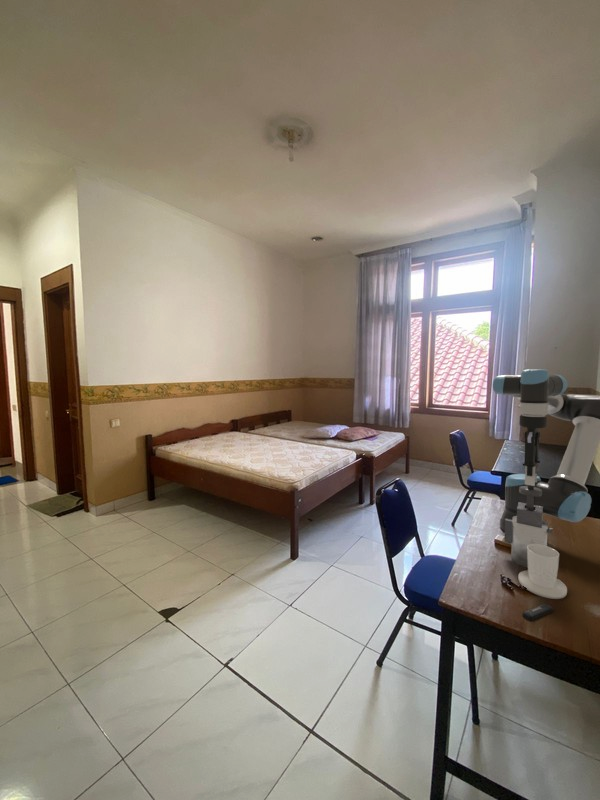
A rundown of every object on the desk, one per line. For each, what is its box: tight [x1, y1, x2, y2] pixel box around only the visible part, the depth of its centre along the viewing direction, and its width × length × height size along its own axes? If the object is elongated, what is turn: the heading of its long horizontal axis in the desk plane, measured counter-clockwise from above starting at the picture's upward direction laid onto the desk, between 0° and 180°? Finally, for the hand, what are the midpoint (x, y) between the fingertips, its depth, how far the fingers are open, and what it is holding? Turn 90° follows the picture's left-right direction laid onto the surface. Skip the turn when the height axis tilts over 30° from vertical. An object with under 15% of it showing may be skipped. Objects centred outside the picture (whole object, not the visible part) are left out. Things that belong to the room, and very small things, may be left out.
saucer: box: [518, 569, 568, 600], centre depth 101 cm, size 12×12×1 cm
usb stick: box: [522, 603, 554, 621], centre depth 90 cm, size 10×3×2 cm, turn 111°
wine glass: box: [519, 463, 542, 510], centre depth 113 cm, size 6×6×16 cm
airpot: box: [504, 502, 553, 568], centre depth 114 cm, size 13×10×19 cm
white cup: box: [527, 544, 560, 588], centre depth 101 cm, size 8×8×10 cm
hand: (530, 483), depth 113 cm, fingers closed on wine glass, 4 cm apart
